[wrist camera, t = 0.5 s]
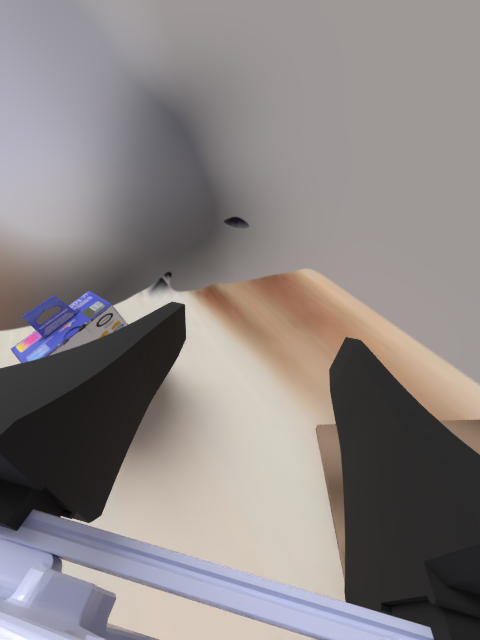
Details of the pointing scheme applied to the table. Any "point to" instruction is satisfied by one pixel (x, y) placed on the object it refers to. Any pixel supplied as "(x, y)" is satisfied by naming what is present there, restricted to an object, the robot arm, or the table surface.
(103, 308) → the ink cartridge box
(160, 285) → the table surface
